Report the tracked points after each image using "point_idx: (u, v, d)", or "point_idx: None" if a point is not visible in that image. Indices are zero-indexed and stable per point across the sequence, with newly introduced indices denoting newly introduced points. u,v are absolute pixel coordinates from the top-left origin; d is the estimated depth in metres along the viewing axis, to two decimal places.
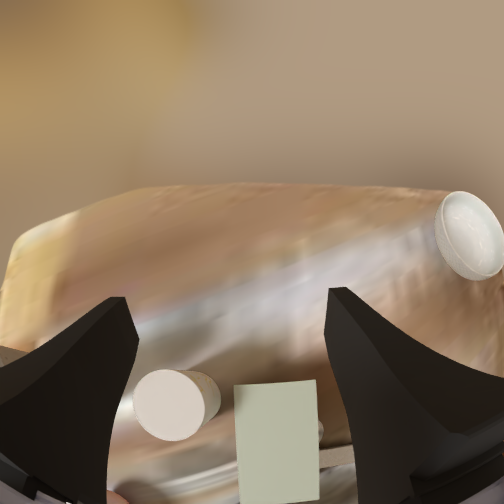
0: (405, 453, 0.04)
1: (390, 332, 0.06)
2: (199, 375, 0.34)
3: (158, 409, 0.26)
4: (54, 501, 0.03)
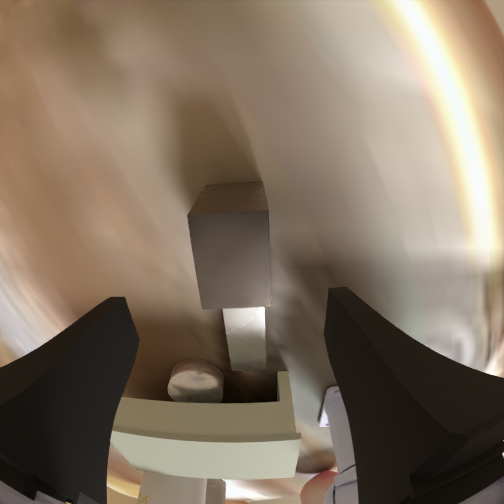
0: (404, 453, 0.04)
1: (390, 332, 0.06)
2: None
3: None
4: (54, 501, 0.03)
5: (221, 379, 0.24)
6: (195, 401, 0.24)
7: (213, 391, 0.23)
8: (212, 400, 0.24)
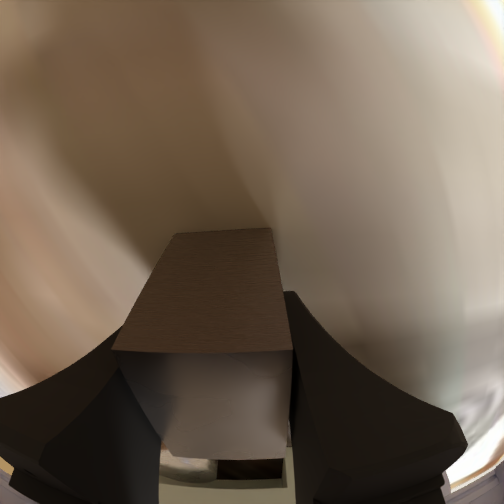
0: (310, 474, 0.04)
1: (320, 341, 0.06)
2: None
3: None
4: None
5: None
6: (184, 477, 0.16)
7: (205, 472, 0.16)
8: (204, 478, 0.16)
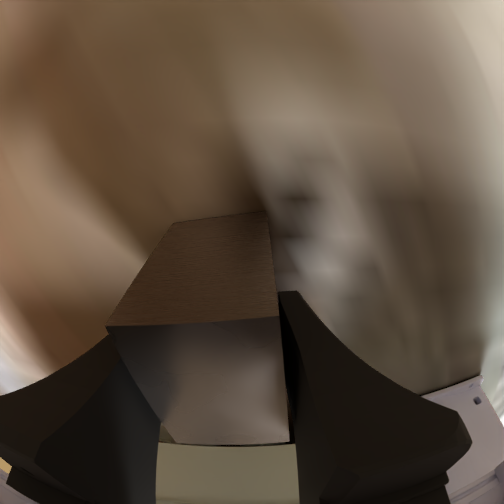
0: (316, 473, 0.04)
1: (325, 341, 0.06)
2: None
3: None
4: None
5: None
6: None
7: None
8: None
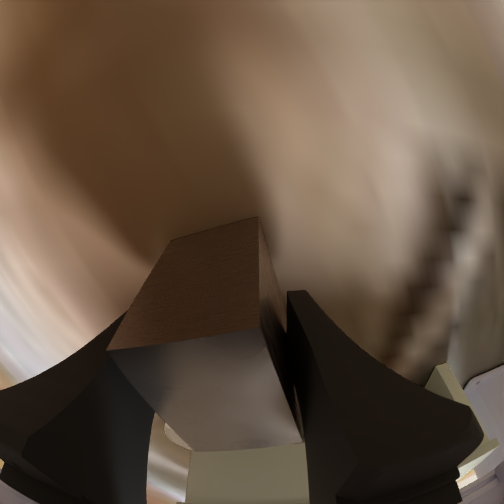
0: (332, 470, 0.04)
1: (336, 340, 0.06)
2: None
3: None
4: None
5: None
6: None
7: None
8: None
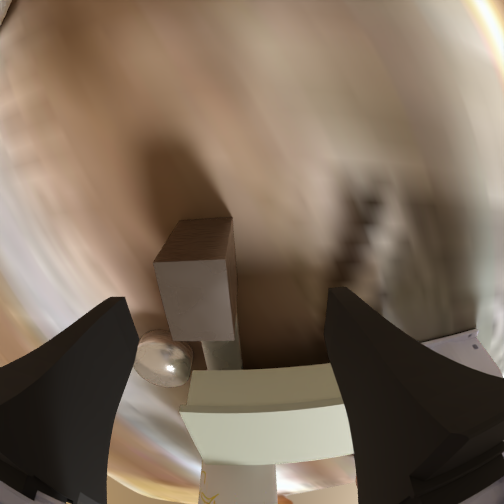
0: (404, 453, 0.04)
1: (390, 332, 0.06)
2: None
3: None
4: (54, 501, 0.03)
5: (188, 352, 0.23)
6: (163, 377, 0.22)
7: (178, 363, 0.21)
8: (179, 376, 0.22)
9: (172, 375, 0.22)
